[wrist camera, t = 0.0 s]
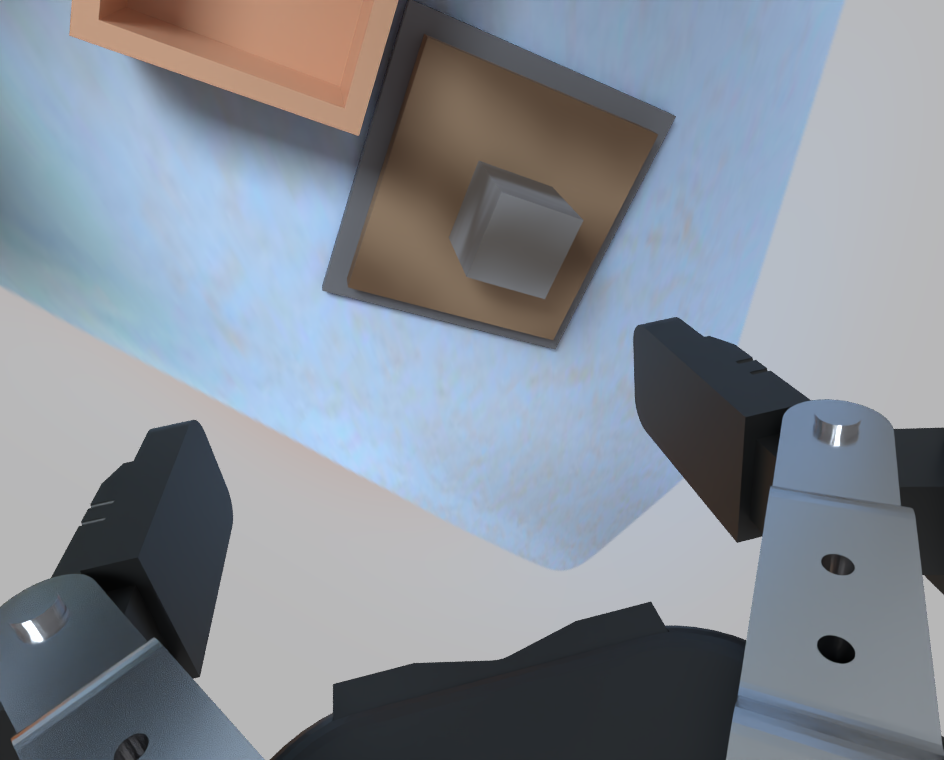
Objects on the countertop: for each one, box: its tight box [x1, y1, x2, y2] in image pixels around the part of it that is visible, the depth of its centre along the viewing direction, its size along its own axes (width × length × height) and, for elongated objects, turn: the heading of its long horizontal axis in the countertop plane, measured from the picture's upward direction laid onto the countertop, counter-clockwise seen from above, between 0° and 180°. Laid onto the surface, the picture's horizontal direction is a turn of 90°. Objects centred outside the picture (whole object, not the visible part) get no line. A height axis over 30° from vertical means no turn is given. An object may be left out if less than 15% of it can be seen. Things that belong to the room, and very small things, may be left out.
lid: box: [347, 34, 658, 340], centre depth 31 cm, size 12×12×6 cm
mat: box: [322, 0, 676, 349], centre depth 33 cm, size 14×14×1 cm
